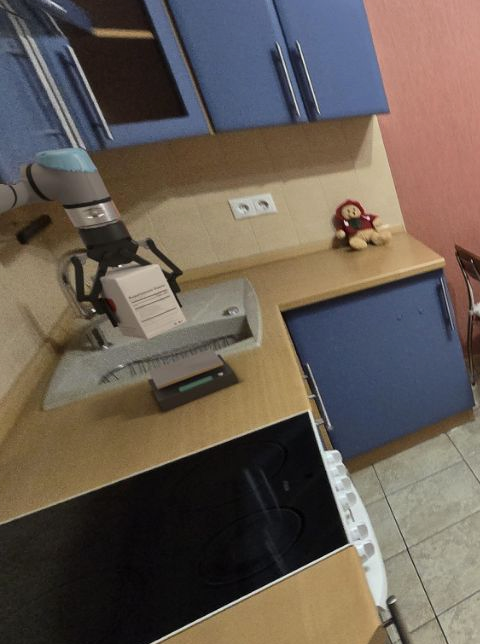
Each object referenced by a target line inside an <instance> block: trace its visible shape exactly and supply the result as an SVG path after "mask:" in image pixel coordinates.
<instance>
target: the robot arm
mask: <svg viewBox="0 0 480 644" xmlns="http://www.w3.org/2000/svg"><path fill="white" fill-rule="evenodd" d="M34 155H35V159H36V162H33V163H29V164H28V163H27V164H20V165H21V166H20V177H19V178H22V179H21V180H24V181H23V182H20V183H18V184H16V185H12V186H8V185H4V184H0V215H1V214H3V213H7V212H9V211H11V210H14V209H17V208H19V207H20V208H21V207H22V206H26V205H33V204H39V203H45V202H46V203H47V202H53V201H59V202H60V204H61V205H62V207H63V210H64V211H65V213H66V214H67V217H68V218H69V220H70V222H71V223H72V225H73V226H74V227H76V228H77V230H76V233H77V235H78V236H79V238H80V239H81V242H82V243H83V245H84V247H85V249H86V252H84V253H80V254H70V255H69V260H70V262H71V264H72V265H73V267H74V269H73V270H74V285H75V299H76V301H77V302H78V303H90V304H91V305H92V306H93V308H94V310H95V311H96V314H97V315H99V316H102V315H106V317H107V318H108V320H109V322H110V323H111V325H112V328H114V329H115V328H118V324H117V322H116V321H115V319H114V317H113V315H112V314H111V312H110V310H109V308H108V307H107V305H106V303H105V301H104V300H103V298H102V297H101V296H100V290H101V287H102V282H101V280H100V278H101V277H104V276H105V274H106V272H107V271H108V268H111V269H114V268H118V267H120V266H122V265H127V264H130V263H133V262H134V263H138V264H140V265H142V266H147V265H152V264H153V262H150V261H149V260H147V259H145V258H144V257H142V256H140V255H138V254H137V253H138V250H139V247H142V248H143V249H145V250H150V252H151V253H152V254H153V255H154V256H156V257H157V258H158V259H159V260H160V261H161V262H162V263H163V264H164V265H166V266H167V267H168V268H169V269H170V270H171V271H172V272H169V271H167V270H166V269H163V268H161V270H162V272H163V274H164V276H165V278H166V280H167V282H168V285H169V287H170V289H171V291H172V293H173V295H174V297H175V299H176V301H177V303H178V305H179V307H180V309H181V308H183V305H182V302H181V301H180V300H179V297H178V295H177V294H179V293H181V291H182V290H181V288H180V285H179V284H178V282H177V278H178V277H181V276H183V274H184V272H183V270H182V269H181V268H179V266H177V265H176V264H175V263H174V262H173V261H172V260H170V258H168V257H167V256H166V255H165V254H164V253H163V252H162V251H161V250H160V249H159V248H158V247H157V245H156V243H155V241H154V240H153V238H151V237H146V238H144V239H142V240H137V241H136V240H135V239H134V238H133V237H132V235H131V233H130V231H129V229H128V228H127V225H126V223H125V222H124V221H122V220H121V217H122V216H121V214H120V212H119V210H118V208H117V206H116V204H115V202H114V201H113V199H112V197H111V195H110V193H109V191H108V189H107V188H106V185H105V183H104V181H103V179H102V177H101V175H100V173H99V169H98V167H97V166H96V165H95V164H94V162H93V160H92V159H91V157H90V155H89V154H88V152H87V151H86V150H85V149H83V148H80V147H67V148H58V149H50V150H44V151H40V152H37V153H35V154H34ZM88 259H90V260H92V261H94V262H96V263H98V264H97V268H96V272H95V274H96V275H95V274H94V275H95V279H94V281H93V282H92V284H91V289H90V291H89V293H88V294H86V293H85V291H86V290H85V272H84V265H86V264H87V260H88Z"/></svg>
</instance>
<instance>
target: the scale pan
mask: <svg viewBox="0 0 480 644" xmlns="http://www.w3.org/2000/svg"><path fill="white" fill-rule="evenodd" d="M217 355H218V354H216V352H215V351H214V350H213V348H209V349H207V350H203V351H201V352H198V353H195V354H192V355H190V356H189V355H188V356H186V357H183V358H181V359H178V360H175V361H173V362H170V363H166V364H164V365H160V366H158V367H155V368H153V369H152V368H151V369H149V370H148V372H149V375H150V377H151V379H153V381H154V383H155V385H156V387H157V389H160V388H163V387H166V386H168V385H171V384H174V383H176V382H179V381H182V380H184V379H187V378H190V377H192V376H195V375H198V374H200V373H203V372H206V371H208V370H211V369H214V368H216V367H219V366H222V365H224V364H223V362H222V361H221V360H220V358H219V357H218V356H217Z"/></svg>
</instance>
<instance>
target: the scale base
mask: <svg viewBox="0 0 480 644" xmlns="http://www.w3.org/2000/svg"><path fill="white" fill-rule="evenodd" d="M216 355H217V356H218V357H219V358H220V360H221V361H222V362H223V364H224V365H222V366H219V367H216V368H214V369H211V370H208V371H206V372H203V373H200V374H198V375H195V376H192V377H190V378H187V379H184V380H182V381H179V382H176V383H174V384H171V385H168V386H166V387H163V388H160V389H157V387H156V385H155V383H154V381H153V379H152V378H150V379H147V382H148V384H149V386H150V388H151V391H152V392H153V395H154V396H155V398H156V401H157V403H158V404H159V406H160V408H161V410H162V411H163V413H166V412H167V411H170V410H173V409H175V408H178V407H181V406H183V405H185V404H188V403H190V402H193V401H195V400H198V399H200V398H203V397H205V396H208V395H210V394H213V393H215V392H216V393H217V392H218V391H220V390H223V389H225V388H228V387H231V386H233V385H235V384H238V383H239V379H238V377H237V376H236V372H234V370H233V369H232V368H231V367H230V365H229V364H228V363H227V361H226V360H225V359H224V357H223V356H222V355H221V354H219V353H218V354H216Z"/></svg>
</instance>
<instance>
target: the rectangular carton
mask: <svg viewBox="0 0 480 644" xmlns="http://www.w3.org/2000/svg"><path fill="white" fill-rule="evenodd" d="M161 269H162V267H161V265H160V264H157V263H152V265H147V266H142V265H140V264H138V263H136V262H135V261H132V262H130V263H129V264H123V265H120V266H117V267H114V268H111V269H109V270H107V272H106V274H105V276H104V277H101V278H100V280H101V282H102V287H101V290H100V294H99V297H100V298H101V297H102V298H103V300H104V301H105V303H106V305H107V307H108V308H109V310H110V312H111V314H112V315H113V317H114V319H115V321H116V322H117V324H118V327H117V328H118V329H119V331H120V333H121V336H123V337H128V338H136V339H142V340H150V339H153V338H154V337H156V336H159V335H162V334H163V333H166V332H168V331H170V330H172V329H174V328H177V327H179V326H182V325H184V324H185V323H187V319H186V317H185V315H184V312H183V311H182V309H181V308H180V307H179V305H178V303H177V301H176V299H175V297H174V295H173V293H172V291H171V289H170V287H169V285H168V282H167V280H168V279H166V278H165V276H164V274H163V272H162V270H161ZM95 275H96V273H95V274H93V275H90V276H89V279H90V280H91V282H92V283H93V281H94V279H95Z"/></svg>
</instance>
